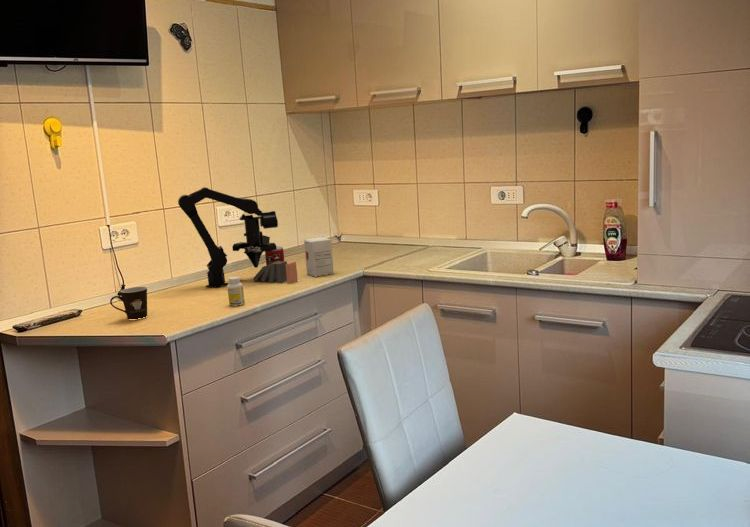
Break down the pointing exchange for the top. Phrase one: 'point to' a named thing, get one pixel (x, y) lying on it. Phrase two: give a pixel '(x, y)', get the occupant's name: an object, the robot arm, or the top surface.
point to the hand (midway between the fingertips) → (256, 267)
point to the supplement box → (318, 256)
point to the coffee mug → (133, 302)
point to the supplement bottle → (235, 291)
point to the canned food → (274, 255)
